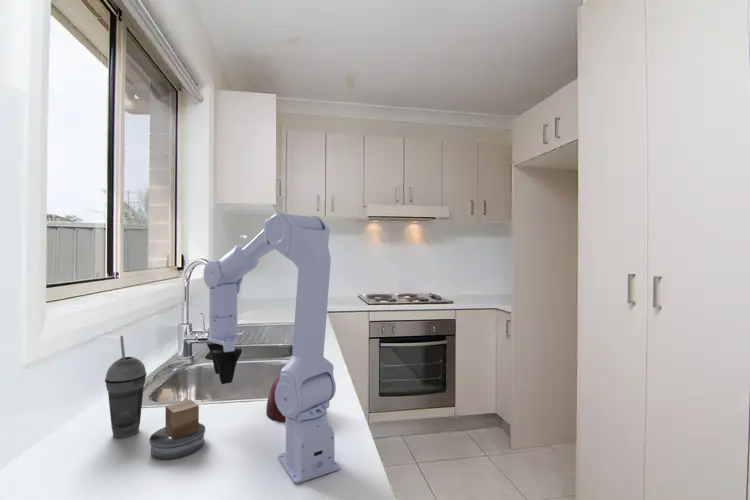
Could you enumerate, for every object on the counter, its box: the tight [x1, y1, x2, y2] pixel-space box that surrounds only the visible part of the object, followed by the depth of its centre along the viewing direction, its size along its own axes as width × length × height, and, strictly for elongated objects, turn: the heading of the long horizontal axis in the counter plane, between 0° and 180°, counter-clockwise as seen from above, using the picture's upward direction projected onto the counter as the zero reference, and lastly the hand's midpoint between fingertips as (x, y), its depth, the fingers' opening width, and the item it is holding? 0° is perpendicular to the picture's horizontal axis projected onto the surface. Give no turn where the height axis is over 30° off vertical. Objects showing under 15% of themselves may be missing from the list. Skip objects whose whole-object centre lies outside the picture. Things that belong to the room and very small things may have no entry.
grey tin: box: [149, 422, 206, 461], centre depth 71 cm, size 9×9×3 cm
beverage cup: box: [104, 335, 147, 439], centre depth 77 cm, size 7×7×20 cm
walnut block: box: [164, 399, 200, 440], centre depth 72 cm, size 4×4×5 cm
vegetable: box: [265, 373, 286, 423], centre depth 88 cm, size 10×10×15 cm
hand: (223, 377), depth 82 cm, fingers open, 7 cm apart
